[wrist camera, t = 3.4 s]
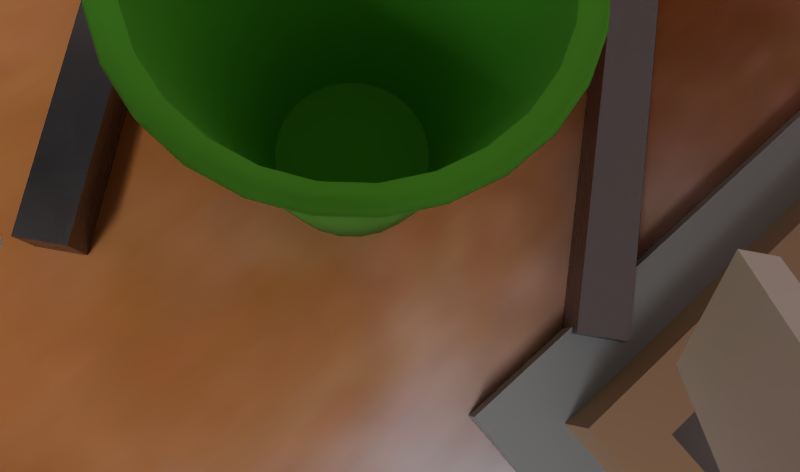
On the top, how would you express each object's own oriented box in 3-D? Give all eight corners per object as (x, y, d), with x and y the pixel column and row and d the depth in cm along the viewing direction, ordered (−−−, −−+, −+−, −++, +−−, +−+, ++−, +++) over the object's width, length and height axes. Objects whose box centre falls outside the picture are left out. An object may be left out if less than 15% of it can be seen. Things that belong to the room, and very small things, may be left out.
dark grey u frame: (142, -127, 24) (128, -160, 22) (644, -31, 24) (663, -58, 23) (35, 246, 21) (11, 236, 19) (610, 344, 21) (629, 341, 20)
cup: (431, 4, 23) (499, -316, 13) (529, 244, 22) (703, 113, 11) (177, 79, 22) (14, -205, 11) (262, 339, 21) (166, 296, 10)
